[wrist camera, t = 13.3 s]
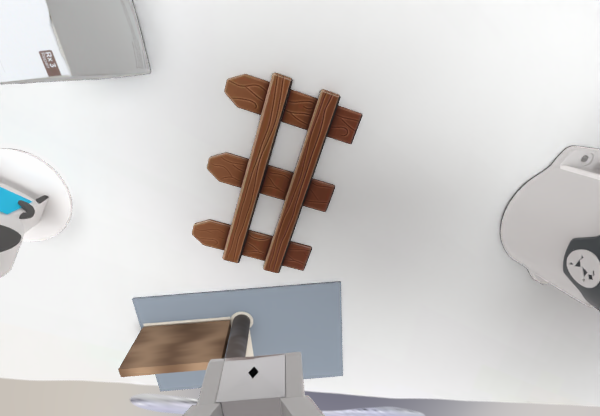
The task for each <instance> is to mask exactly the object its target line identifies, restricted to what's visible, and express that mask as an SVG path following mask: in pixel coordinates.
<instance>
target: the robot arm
mask: <svg viewBox="0 0 600 416" xmlns="http://www.w3.org/2000/svg"><path fill="white" fill-rule="evenodd" d="M582 157H583V159H582V160H581V158H582ZM501 240H502V244H503V246H504V249H505V251H506V252H507V253H508V255H509V256H510V257H511V258H512V259H513V260H515V261H516V262H518V263H520V264H522V265H523V266H525V267H526V268H527V269H528V271H529V273H530V274H531V276H532V277H533V279H534V280H536V281H538V282H539V283H541V284H549V283H550V284H552V285H553V286H555V287H557V288H558V289H560V290H561V291H563V292H565V293H566V294H568V295H569V296H571V297H573V298H574V299H576V300H578V301H579V302H581V303H583V304H584V305H586V306H589V307H595V308H596V309H598V310H599V311H600V149H596V148H588V147H581V146H571V147H568V148H567V149H565V150H564V151H563V152H562V153H561V154H560V155H559V156H558V157H557V159H556V160H555V161H554V162H553V163H552V165H551V166H550V167H549V168H547V169H546V170H545V171H543V172H542V173H540V174H539V175H537V176H535V177H534V178H533V179H531V180H530V181H529V182H527V183H526V184H525V185H524V186H523V187H522V188H521V189H520V190H519V191H518V192H517V193H516V194H515V196H514V197H513V198H512V200H511V201H510V203H509V205H508V207H507V209H506V211H505V213H504V216H503V219H502V223H501ZM183 416H325V415H324V414H323V413H322V412H321V410H320V409H319V408H318V407H317V405H316V404H315V403H314V402H313V400H312V399H311V398H310V397H309V396H305V393H304V381H303V368H302V355H301V352H293V353H282V354H272V355H261V356H252V357H234V358H223V359H211V360H210V361H209V363H208V366H207V369H206V373H205V377H204V380H203V384H202V387H201V391H200V395H199V398H198V402H197V405H192V406H191V407H190V408H189V409H188V410H187V411H186V412H185V413H184V415H183Z"/></svg>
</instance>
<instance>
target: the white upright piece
mask: <svg viewBox="0 0 600 416" xmlns="http://www.w3.org/2000/svg"><path fill="white" fill-rule="evenodd" d="M71 215H72V199H71V195H70V192H69V190H68V187H67V185H66V184H65V182H64V180H63V179H62V178H61V176H60V175H59V174H58V173H57V172H56V171H55V170H54V169H53V168H52V167H51V166H50V165H49V164H47V163H46V162H45V161H43V160H42V159H40V158H38V157H36V156H34V155H32V154H30V153H27V152H24V151H21V150H16V149H0V278H1V277H3V276H4V275H6V274H7V273H8V272H9V271H10V270H11V269H12V266H13V264H14V261H15V258H16V256H17V253H18V250H19V248H20V245H21V242H22V241H30V242H35V241H43V240H47V239H49V238H52V237H54V236H56V235H57V234H59V233H60V232H61V231H62V230H63V229H64V228H65V227H66V226H67V224H68V223H69V221H70V218H71Z"/></svg>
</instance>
